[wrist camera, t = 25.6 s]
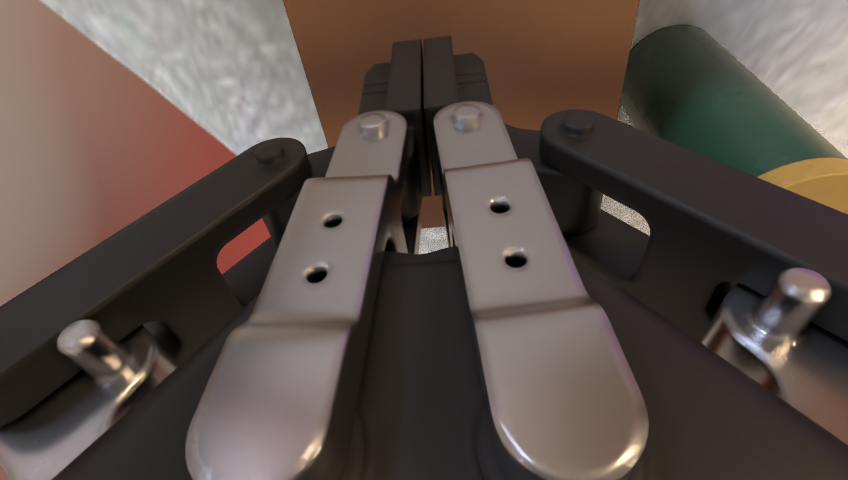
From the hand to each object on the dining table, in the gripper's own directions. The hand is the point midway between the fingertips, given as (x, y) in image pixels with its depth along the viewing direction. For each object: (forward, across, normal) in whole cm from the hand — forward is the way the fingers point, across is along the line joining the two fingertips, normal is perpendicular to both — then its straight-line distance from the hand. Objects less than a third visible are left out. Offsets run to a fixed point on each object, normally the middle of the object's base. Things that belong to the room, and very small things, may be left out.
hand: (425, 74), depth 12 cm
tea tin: (+15, -14, +8) cm, 22 cm away
